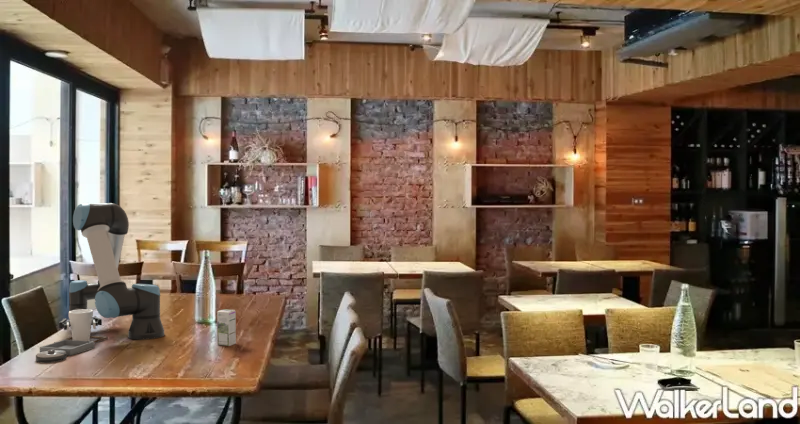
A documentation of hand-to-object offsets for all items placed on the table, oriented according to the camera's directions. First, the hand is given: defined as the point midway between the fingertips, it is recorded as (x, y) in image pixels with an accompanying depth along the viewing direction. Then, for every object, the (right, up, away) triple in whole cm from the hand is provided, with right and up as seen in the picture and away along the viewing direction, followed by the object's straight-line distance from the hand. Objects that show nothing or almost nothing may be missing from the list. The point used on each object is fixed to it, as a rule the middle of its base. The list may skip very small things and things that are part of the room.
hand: (81, 326), depth 297 cm
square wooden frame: (-2, -7, +4) cm, 8 cm away
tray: (0, -7, -13) cm, 15 cm away
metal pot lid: (+1, -8, -27) cm, 28 cm away
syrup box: (+62, -7, -1) cm, 62 cm away
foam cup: (-2, -7, +4) cm, 8 cm away
